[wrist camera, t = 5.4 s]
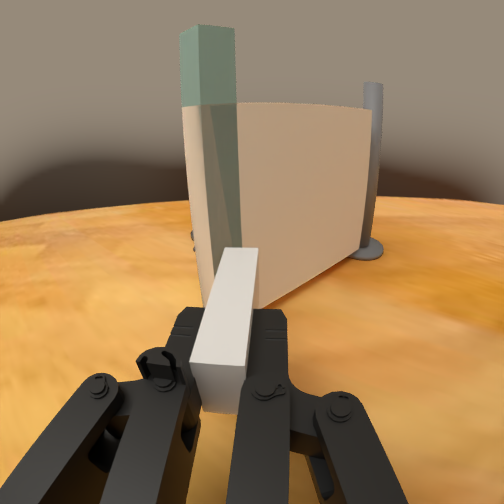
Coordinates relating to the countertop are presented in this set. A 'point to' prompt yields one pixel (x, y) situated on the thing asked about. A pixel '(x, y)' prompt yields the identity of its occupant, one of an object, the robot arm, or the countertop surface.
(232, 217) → the gate
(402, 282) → the countertop surface
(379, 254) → the sill
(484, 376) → the countertop surface
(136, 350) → the countertop surface
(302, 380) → the countertop surface
